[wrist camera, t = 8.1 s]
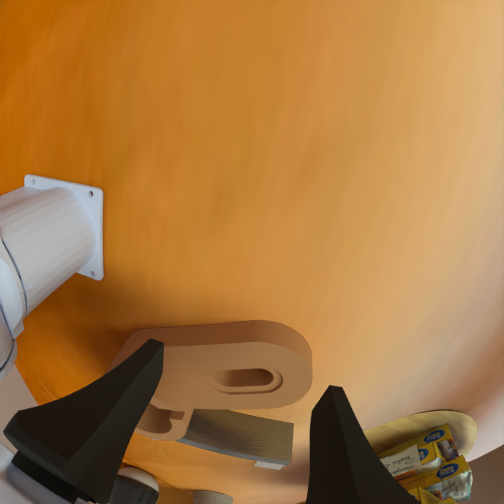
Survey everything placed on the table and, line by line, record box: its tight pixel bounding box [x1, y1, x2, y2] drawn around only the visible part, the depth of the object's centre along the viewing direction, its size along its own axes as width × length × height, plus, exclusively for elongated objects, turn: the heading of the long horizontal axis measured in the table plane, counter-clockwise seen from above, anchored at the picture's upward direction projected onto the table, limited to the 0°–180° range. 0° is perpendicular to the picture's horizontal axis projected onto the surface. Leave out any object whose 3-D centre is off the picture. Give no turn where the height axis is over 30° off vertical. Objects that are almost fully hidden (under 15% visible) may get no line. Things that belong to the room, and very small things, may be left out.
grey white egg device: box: [108, 467, 159, 504], centre depth 37 cm, size 10×10×15 cm
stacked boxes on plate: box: [363, 411, 477, 504], centre depth 23 cm, size 25×25×17 cm
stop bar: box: [152, 409, 294, 470], centre depth 27 cm, size 17×4×5 cm, turn 78°
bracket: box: [104, 320, 312, 441], centre depth 22 cm, size 18×8×7 cm, turn 104°
